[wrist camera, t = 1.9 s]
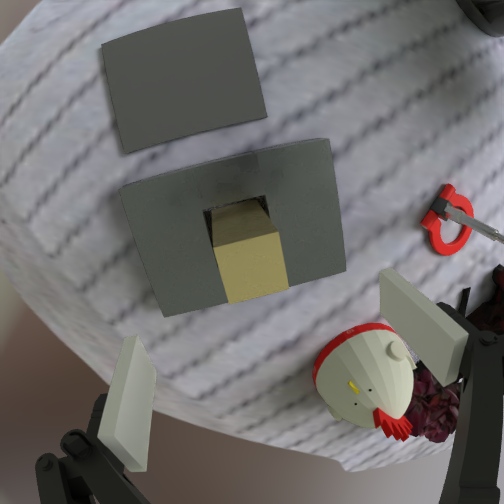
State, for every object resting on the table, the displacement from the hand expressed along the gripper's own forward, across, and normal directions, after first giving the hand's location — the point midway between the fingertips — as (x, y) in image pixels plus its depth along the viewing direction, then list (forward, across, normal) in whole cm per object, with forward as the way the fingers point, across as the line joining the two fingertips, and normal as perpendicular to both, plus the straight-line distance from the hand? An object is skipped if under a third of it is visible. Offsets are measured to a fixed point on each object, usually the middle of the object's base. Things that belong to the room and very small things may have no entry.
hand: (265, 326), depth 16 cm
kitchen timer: (+18, +12, -24) cm, 32 cm away
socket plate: (+18, 0, 0) cm, 18 cm away
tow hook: (+18, +28, -6) cm, 33 cm away
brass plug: (+18, 0, 0) cm, 18 cm away
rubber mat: (+18, -2, +16) cm, 24 cm away
